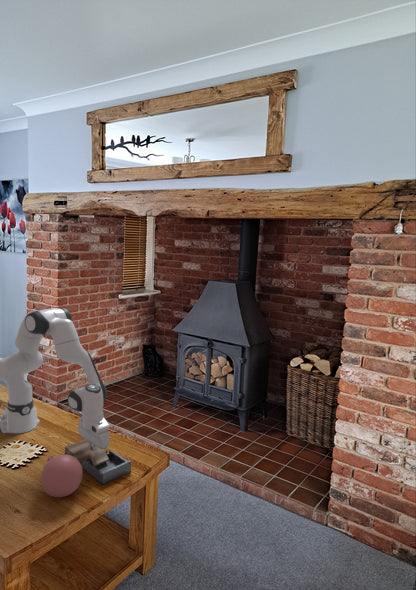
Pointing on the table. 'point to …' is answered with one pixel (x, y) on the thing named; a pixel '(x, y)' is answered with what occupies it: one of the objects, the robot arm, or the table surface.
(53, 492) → the balloon
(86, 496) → the table surface
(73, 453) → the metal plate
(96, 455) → the block
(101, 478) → the box
